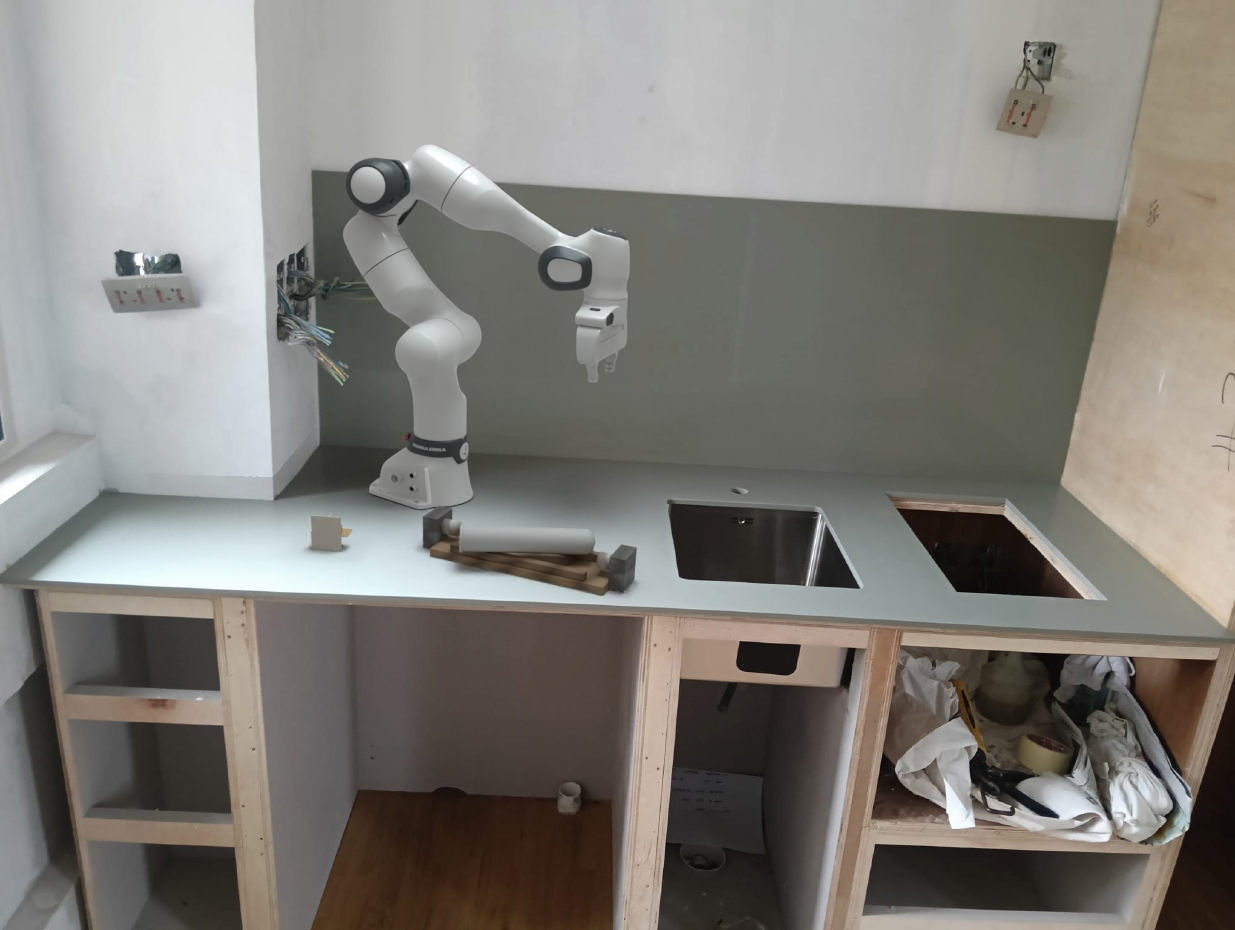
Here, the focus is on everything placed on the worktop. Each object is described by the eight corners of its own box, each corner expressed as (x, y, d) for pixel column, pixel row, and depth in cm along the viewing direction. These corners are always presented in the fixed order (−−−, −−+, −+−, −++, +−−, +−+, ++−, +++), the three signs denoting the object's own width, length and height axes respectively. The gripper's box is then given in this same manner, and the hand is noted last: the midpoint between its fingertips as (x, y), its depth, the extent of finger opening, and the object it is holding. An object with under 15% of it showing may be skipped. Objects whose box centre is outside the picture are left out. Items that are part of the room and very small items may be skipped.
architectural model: (317, 544, 190) (315, 508, 187) (353, 546, 190) (352, 511, 187) (311, 551, 187) (309, 515, 184) (348, 554, 187) (346, 518, 184)
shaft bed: (416, 552, 188) (415, 521, 186) (445, 531, 198) (445, 501, 196) (618, 598, 176) (620, 565, 173) (638, 574, 185) (641, 542, 183)
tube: (595, 526, 187) (461, 522, 185) (597, 529, 182) (459, 524, 180) (593, 555, 187) (460, 550, 185) (596, 558, 182) (458, 554, 180)
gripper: (608, 300, 210) (604, 364, 215) (571, 316, 192) (568, 385, 197) (636, 304, 208) (632, 368, 213) (601, 321, 190) (598, 390, 195)
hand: (601, 376), depth 205 cm, fingers open, 8 cm apart
